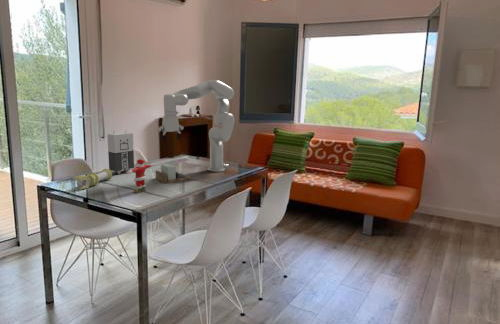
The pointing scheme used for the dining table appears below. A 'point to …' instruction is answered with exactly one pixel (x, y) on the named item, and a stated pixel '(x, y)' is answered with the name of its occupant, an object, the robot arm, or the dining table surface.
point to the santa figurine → (140, 175)
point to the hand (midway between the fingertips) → (171, 140)
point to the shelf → (179, 178)
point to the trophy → (92, 178)
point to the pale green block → (169, 171)
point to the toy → (120, 151)
